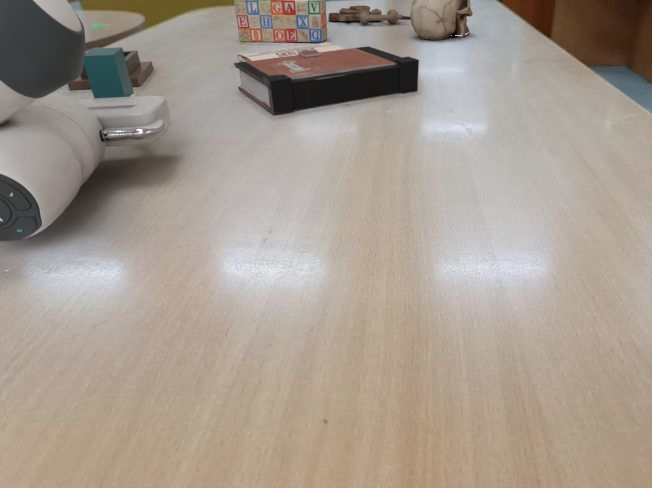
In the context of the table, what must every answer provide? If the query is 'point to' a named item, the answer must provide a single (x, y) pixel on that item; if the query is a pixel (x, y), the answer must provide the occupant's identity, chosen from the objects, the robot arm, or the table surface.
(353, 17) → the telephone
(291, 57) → the book
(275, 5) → the stack of blocks
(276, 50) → the newspaper
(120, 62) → the teal rectangular block
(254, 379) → the table surface
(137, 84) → the lower pad
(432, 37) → the skull
